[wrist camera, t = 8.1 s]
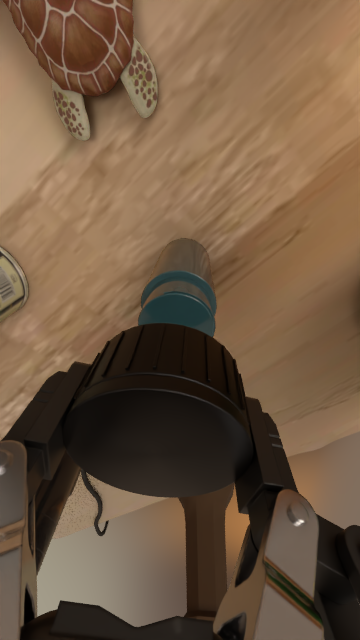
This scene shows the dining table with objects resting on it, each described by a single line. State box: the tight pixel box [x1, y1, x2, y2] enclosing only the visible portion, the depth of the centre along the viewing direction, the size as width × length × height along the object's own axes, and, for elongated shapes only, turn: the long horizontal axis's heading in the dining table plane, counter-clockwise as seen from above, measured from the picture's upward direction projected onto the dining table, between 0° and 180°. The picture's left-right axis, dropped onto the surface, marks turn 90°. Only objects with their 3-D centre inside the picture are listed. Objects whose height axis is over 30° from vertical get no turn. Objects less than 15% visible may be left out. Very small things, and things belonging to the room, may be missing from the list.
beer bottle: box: [178, 482, 235, 624], centre depth 26 cm, size 8×8×24 cm
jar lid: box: [62, 323, 253, 497], centre depth 10 cm, size 7×7×4 cm
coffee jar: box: [138, 238, 217, 337], centre depth 21 cm, size 6×6×14 cm
